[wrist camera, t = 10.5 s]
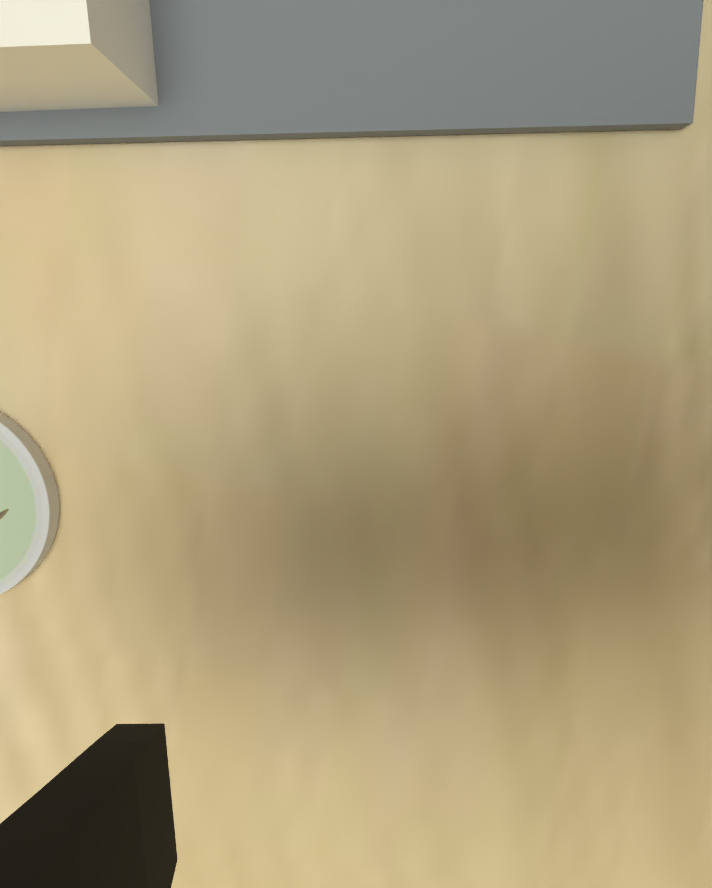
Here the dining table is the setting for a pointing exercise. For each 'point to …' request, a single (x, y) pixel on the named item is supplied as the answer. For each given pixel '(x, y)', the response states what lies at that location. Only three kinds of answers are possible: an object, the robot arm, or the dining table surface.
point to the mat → (397, 71)
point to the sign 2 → (24, 504)
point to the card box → (76, 55)
